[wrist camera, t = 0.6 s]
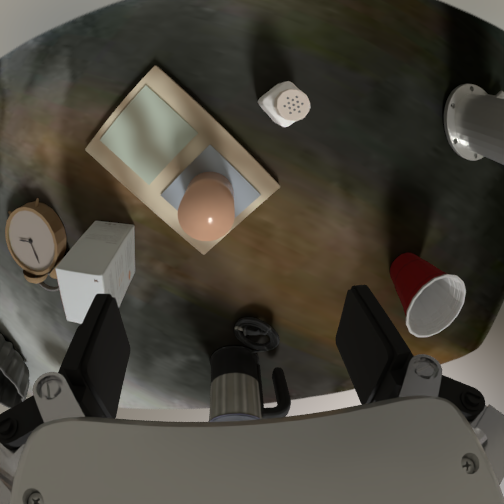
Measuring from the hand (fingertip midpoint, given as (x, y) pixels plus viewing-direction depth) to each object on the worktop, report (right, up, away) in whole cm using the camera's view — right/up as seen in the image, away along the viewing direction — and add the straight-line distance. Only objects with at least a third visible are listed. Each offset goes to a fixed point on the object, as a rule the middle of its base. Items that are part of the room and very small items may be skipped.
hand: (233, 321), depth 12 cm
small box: (-19, +4, +30) cm, 36 cm away
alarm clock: (-33, +4, +29) cm, 44 cm away
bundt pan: (-64, -22, +41) cm, 79 cm away
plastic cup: (+26, 0, +35) cm, 44 cm away
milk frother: (-1, -14, +41) cm, 44 cm away
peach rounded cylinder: (-5, +10, +26) cm, 28 cm away
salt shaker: (+4, +21, +22) cm, 31 cm away
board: (-8, +14, +25) cm, 30 cm away
